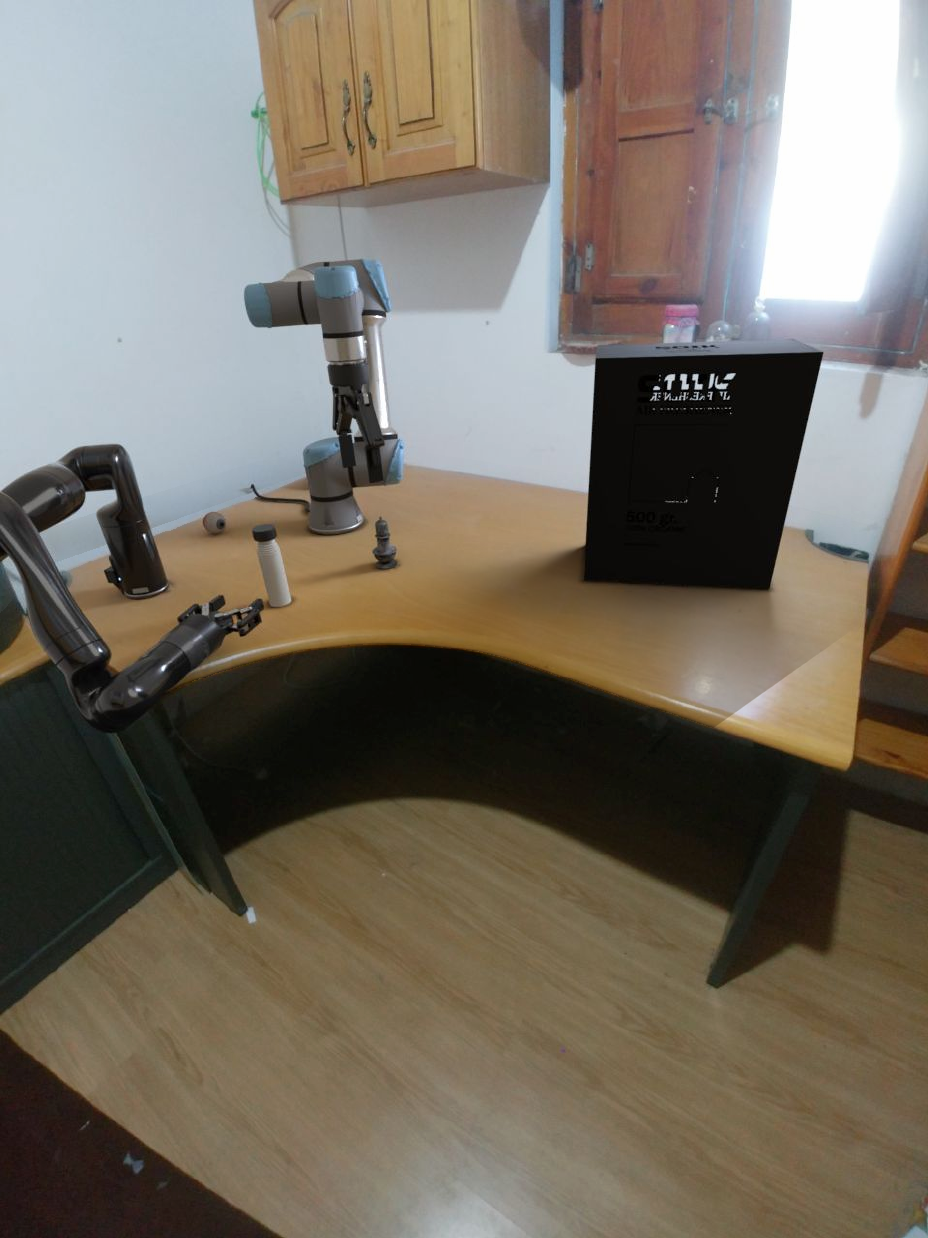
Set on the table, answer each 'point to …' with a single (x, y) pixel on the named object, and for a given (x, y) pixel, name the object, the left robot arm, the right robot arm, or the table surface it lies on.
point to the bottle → (273, 573)
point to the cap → (264, 532)
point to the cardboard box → (695, 460)
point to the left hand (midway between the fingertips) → (241, 600)
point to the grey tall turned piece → (384, 546)
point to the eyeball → (214, 522)
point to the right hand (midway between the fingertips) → (362, 473)
